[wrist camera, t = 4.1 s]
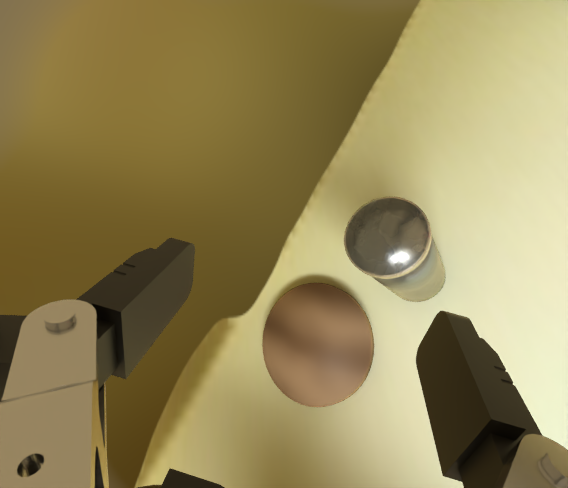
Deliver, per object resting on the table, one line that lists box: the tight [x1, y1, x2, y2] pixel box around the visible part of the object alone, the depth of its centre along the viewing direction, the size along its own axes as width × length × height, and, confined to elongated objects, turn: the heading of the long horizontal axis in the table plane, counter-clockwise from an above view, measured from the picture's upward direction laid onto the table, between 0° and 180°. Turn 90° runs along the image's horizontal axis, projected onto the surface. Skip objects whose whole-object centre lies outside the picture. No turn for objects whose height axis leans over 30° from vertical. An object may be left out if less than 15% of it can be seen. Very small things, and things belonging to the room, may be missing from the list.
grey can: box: [344, 197, 445, 302], centre depth 25 cm, size 5×5×12 cm
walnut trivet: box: [263, 283, 374, 407], centre depth 32 cm, size 12×12×1 cm
